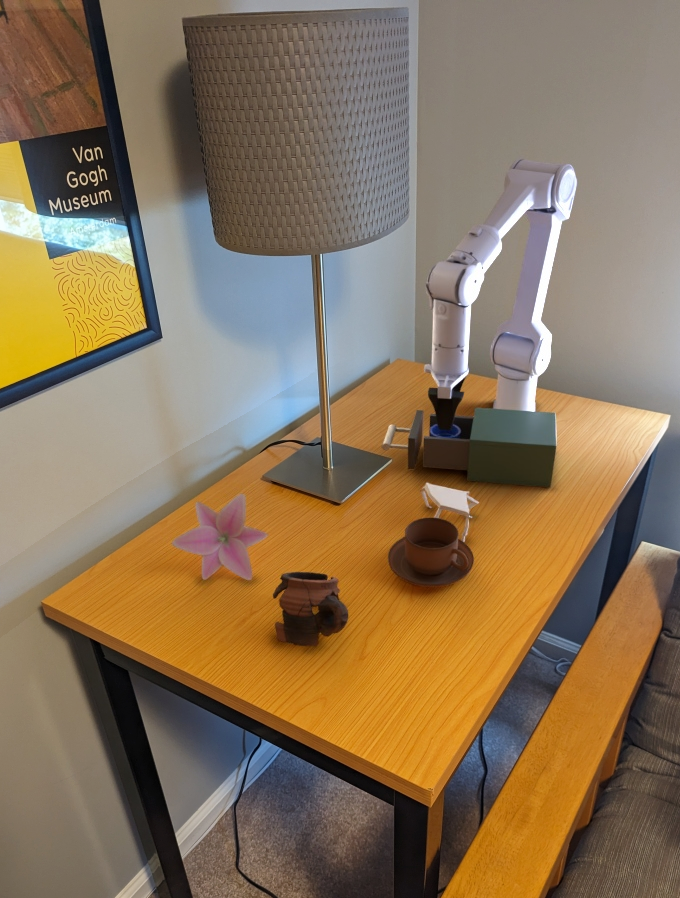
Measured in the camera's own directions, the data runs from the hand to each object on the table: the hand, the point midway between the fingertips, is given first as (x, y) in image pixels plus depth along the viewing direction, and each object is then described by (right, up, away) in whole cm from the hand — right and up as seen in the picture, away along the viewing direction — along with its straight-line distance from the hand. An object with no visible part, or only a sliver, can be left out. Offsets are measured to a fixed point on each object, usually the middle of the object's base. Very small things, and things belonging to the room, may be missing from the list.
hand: (447, 419), depth 124 cm
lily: (-34, -24, -17) cm, 45 cm away
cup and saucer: (-4, -24, -19) cm, 31 cm away
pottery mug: (-20, -31, -28) cm, 46 cm away
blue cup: (0, -5, +4) cm, 6 cm away
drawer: (-2, -6, +5) cm, 7 cm away
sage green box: (+11, -8, +3) cm, 14 cm away
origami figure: (-1, -17, -10) cm, 20 cm away
